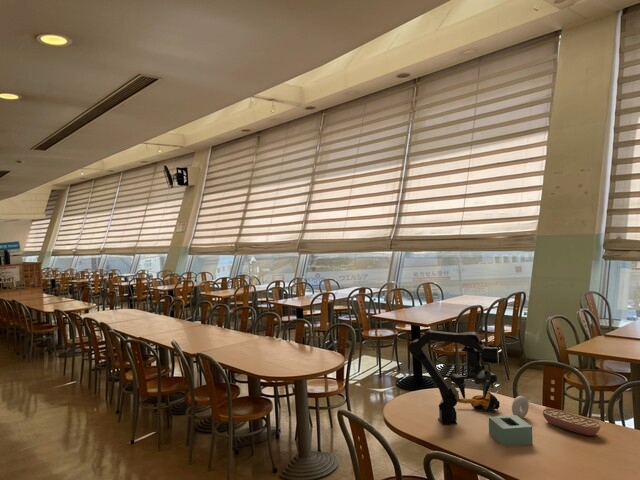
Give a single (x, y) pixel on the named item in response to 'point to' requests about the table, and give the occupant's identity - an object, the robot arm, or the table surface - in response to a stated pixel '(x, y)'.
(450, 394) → the robot arm
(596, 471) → the table surface
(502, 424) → the box
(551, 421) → the pink mitochondrion model
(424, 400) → the table surface
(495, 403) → the fried shrimp in bowl
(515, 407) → the donut
